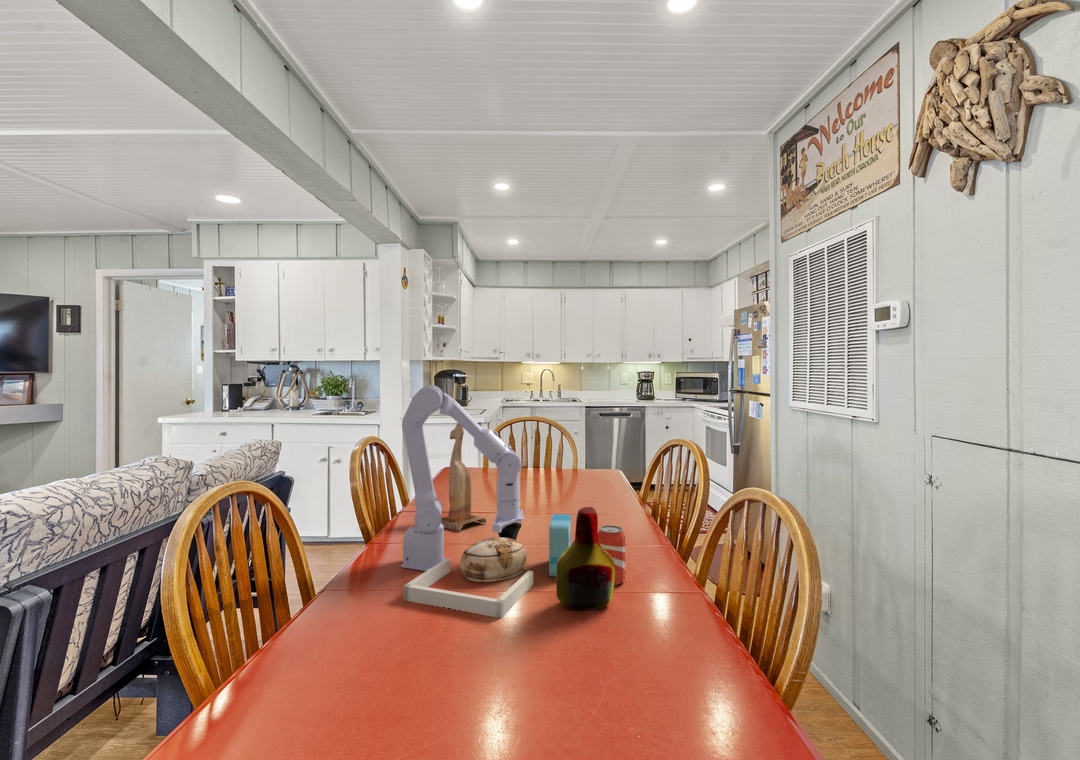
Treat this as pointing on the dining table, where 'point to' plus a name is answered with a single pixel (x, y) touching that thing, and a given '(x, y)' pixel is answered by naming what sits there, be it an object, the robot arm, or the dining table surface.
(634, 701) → the dining table surface
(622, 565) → the beverage can
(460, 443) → the bird sculpture
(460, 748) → the dining table surface
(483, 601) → the display bay
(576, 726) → the dining table surface
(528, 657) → the dining table surface
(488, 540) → the trinket box
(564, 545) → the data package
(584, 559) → the bottle
